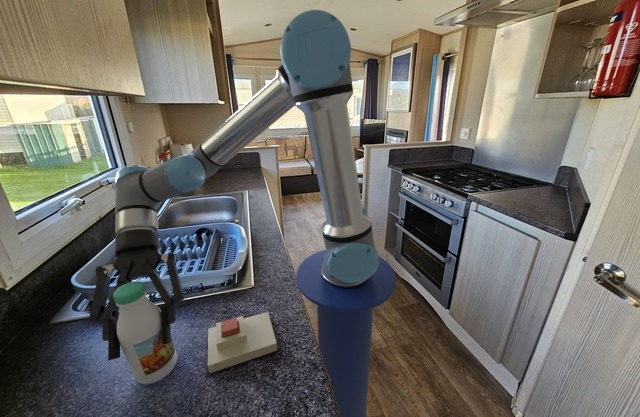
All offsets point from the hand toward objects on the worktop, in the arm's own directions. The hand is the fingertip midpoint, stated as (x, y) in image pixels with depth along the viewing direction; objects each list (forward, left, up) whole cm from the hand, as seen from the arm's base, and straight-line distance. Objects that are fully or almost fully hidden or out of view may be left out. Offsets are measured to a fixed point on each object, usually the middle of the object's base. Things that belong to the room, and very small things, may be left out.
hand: (141, 350), depth 48 cm
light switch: (-17, -3, -9) cm, 20 cm away
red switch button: (-15, -4, -6) cm, 17 cm away
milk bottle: (0, -3, -9) cm, 9 cm away
